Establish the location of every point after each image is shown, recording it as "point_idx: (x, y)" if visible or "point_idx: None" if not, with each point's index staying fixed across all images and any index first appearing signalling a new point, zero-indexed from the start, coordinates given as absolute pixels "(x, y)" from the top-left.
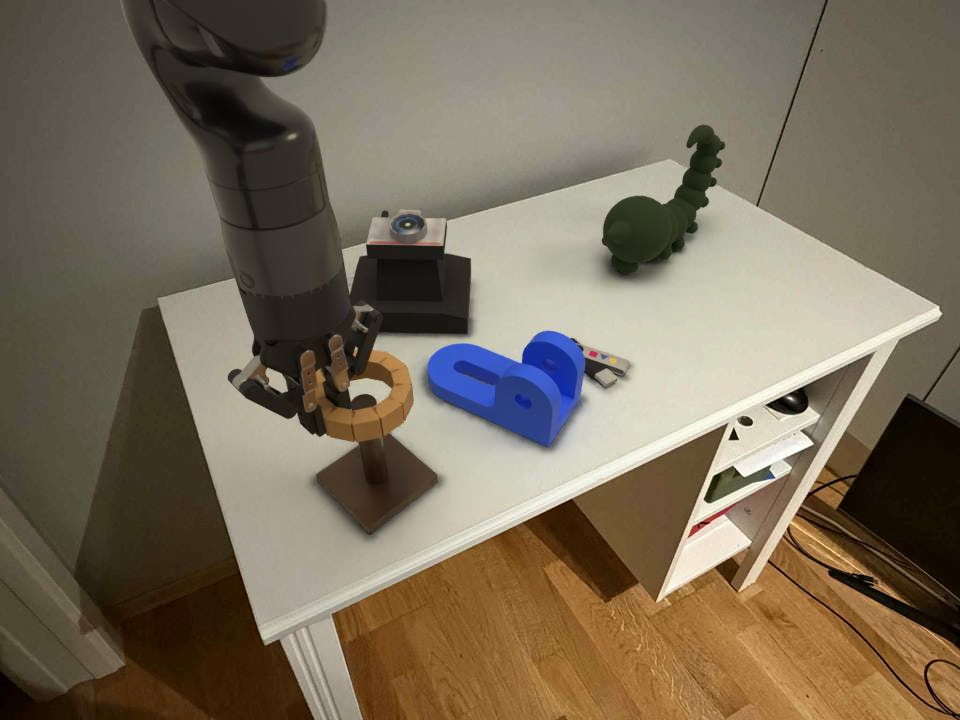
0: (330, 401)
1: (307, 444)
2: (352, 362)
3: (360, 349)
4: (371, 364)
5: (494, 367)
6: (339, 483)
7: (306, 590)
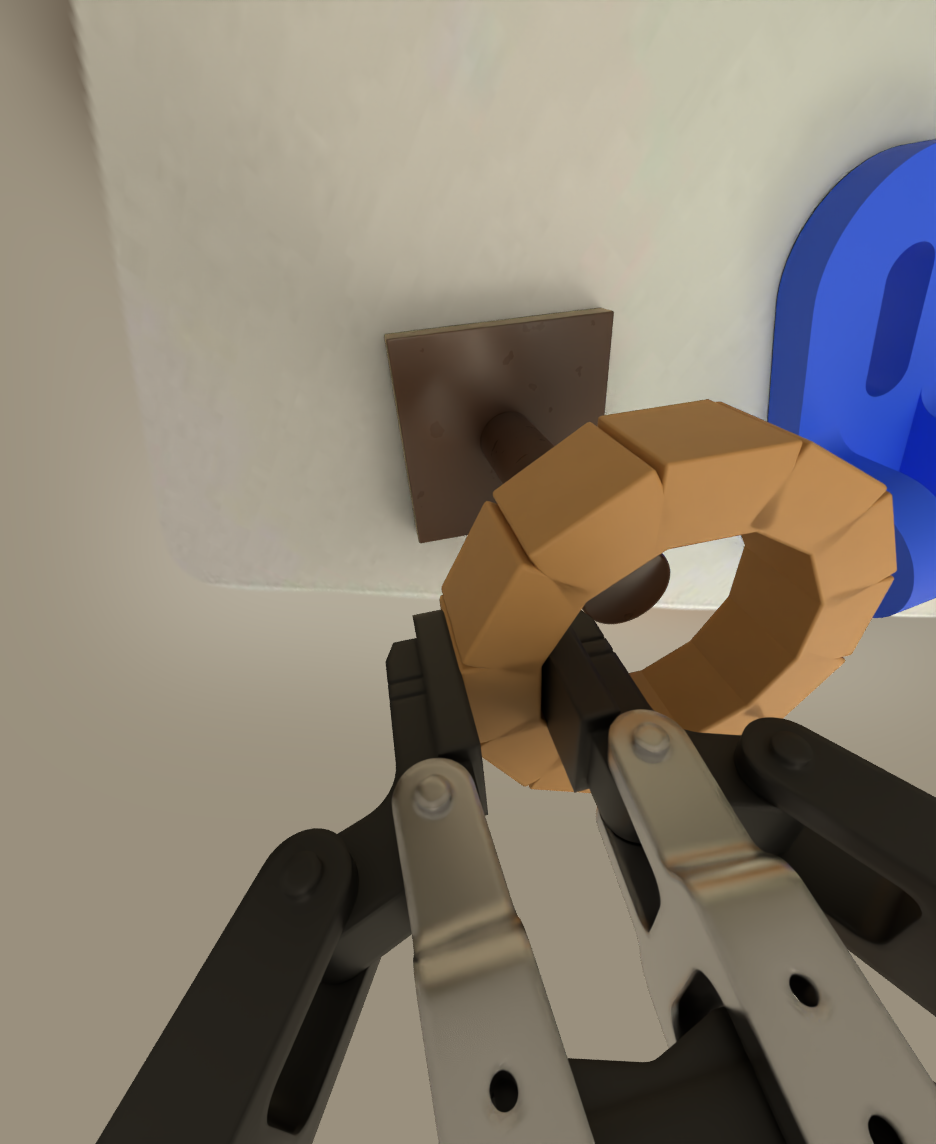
0: (542, 670)
1: (418, 162)
2: (767, 851)
3: (870, 961)
4: (802, 568)
5: (930, 342)
6: (425, 408)
7: (261, 564)
